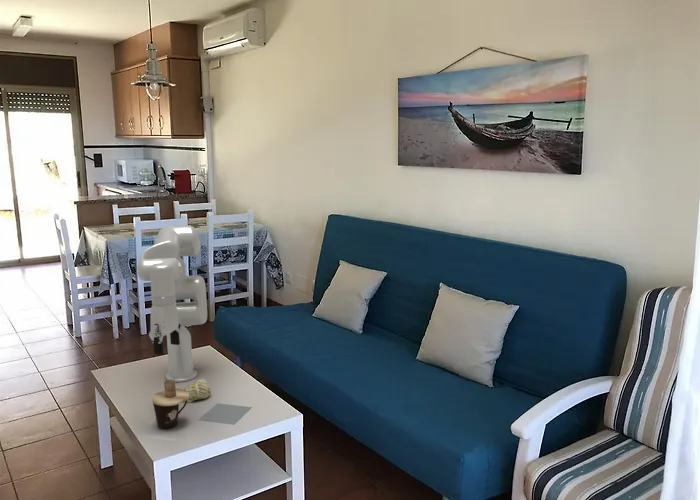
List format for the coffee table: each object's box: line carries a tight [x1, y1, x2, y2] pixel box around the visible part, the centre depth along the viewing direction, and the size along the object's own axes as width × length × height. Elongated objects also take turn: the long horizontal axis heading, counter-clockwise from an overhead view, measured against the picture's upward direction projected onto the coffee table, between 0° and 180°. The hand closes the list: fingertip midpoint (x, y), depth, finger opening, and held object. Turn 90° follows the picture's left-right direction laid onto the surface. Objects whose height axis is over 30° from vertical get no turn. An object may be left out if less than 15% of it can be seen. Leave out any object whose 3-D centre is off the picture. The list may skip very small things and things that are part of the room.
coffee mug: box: [152, 400, 188, 431], centre depth 202 cm, size 12×9×10 cm
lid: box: [151, 379, 189, 406], centre depth 200 cm, size 12×12×6 cm
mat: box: [198, 402, 253, 426], centre depth 210 cm, size 14×14×1 cm
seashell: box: [183, 378, 212, 404], centre depth 223 cm, size 10×10×10 cm
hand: (167, 349), depth 198 cm, fingers open, 9 cm apart
